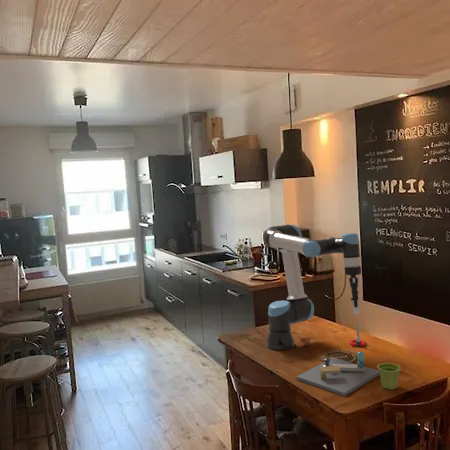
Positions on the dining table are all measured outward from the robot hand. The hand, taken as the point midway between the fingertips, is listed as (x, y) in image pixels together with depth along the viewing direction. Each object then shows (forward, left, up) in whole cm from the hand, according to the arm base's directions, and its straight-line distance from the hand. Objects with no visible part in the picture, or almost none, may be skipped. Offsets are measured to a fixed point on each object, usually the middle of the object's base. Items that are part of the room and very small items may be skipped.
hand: (356, 310), depth 225 cm
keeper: (+1, -25, -25) cm, 35 cm away
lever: (+1, -14, -24) cm, 28 cm away
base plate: (+2, -18, -26) cm, 32 cm away
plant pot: (+23, -13, -26) cm, 37 cm away
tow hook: (-15, +24, -26) cm, 39 cm away
